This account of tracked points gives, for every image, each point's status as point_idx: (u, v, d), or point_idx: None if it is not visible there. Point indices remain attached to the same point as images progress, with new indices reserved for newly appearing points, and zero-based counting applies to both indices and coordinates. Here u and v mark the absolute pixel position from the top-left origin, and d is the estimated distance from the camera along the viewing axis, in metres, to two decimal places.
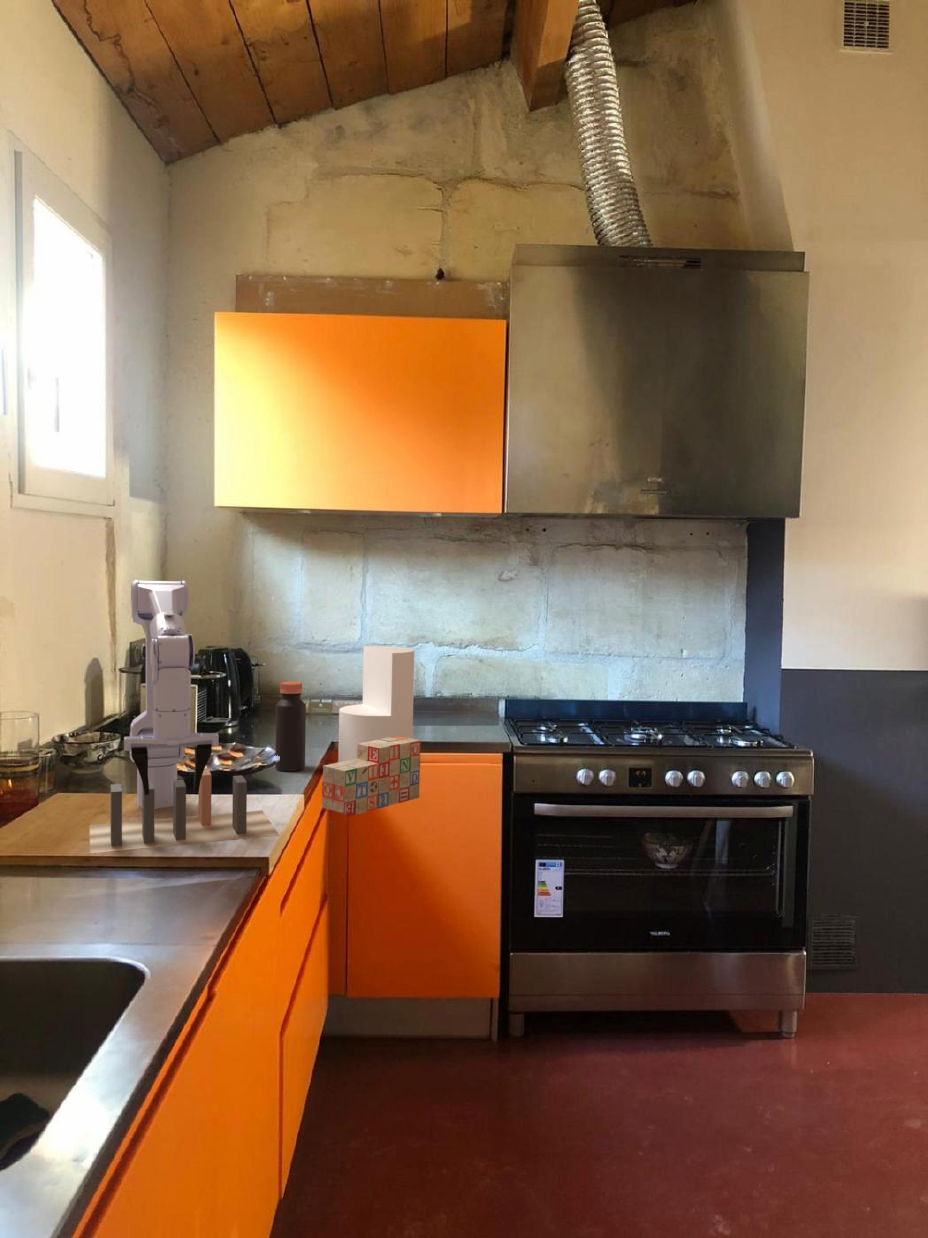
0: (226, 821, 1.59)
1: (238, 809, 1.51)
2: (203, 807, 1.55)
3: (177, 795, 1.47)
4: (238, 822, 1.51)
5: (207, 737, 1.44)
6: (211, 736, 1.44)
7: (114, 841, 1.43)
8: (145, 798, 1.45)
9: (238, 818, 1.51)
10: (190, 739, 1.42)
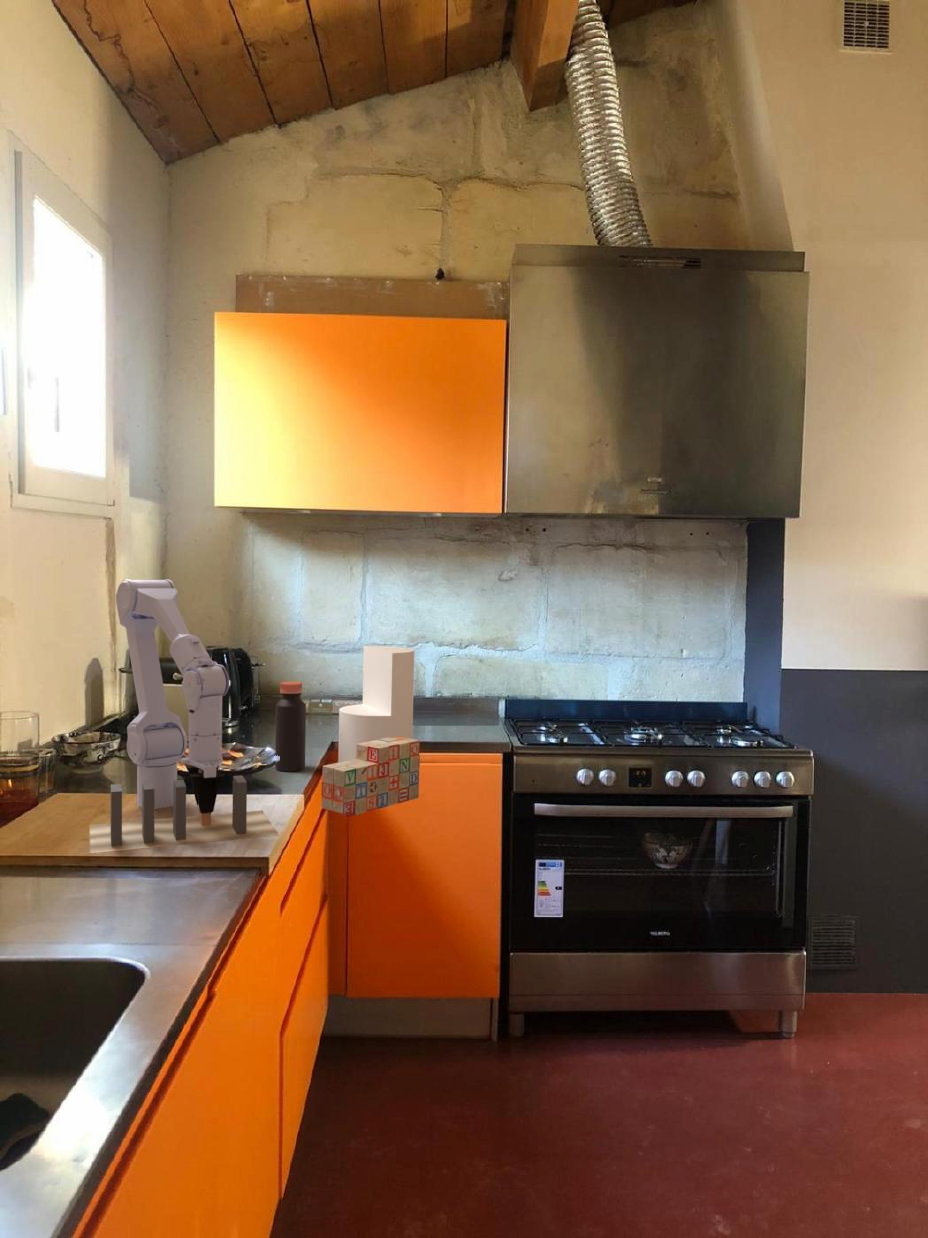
0: (226, 821, 1.59)
1: (238, 809, 1.51)
2: None
3: (177, 795, 1.47)
4: (238, 822, 1.51)
5: (201, 766, 1.52)
6: (203, 766, 1.51)
7: (114, 841, 1.43)
8: (145, 798, 1.45)
9: (238, 818, 1.51)
10: (193, 763, 1.54)
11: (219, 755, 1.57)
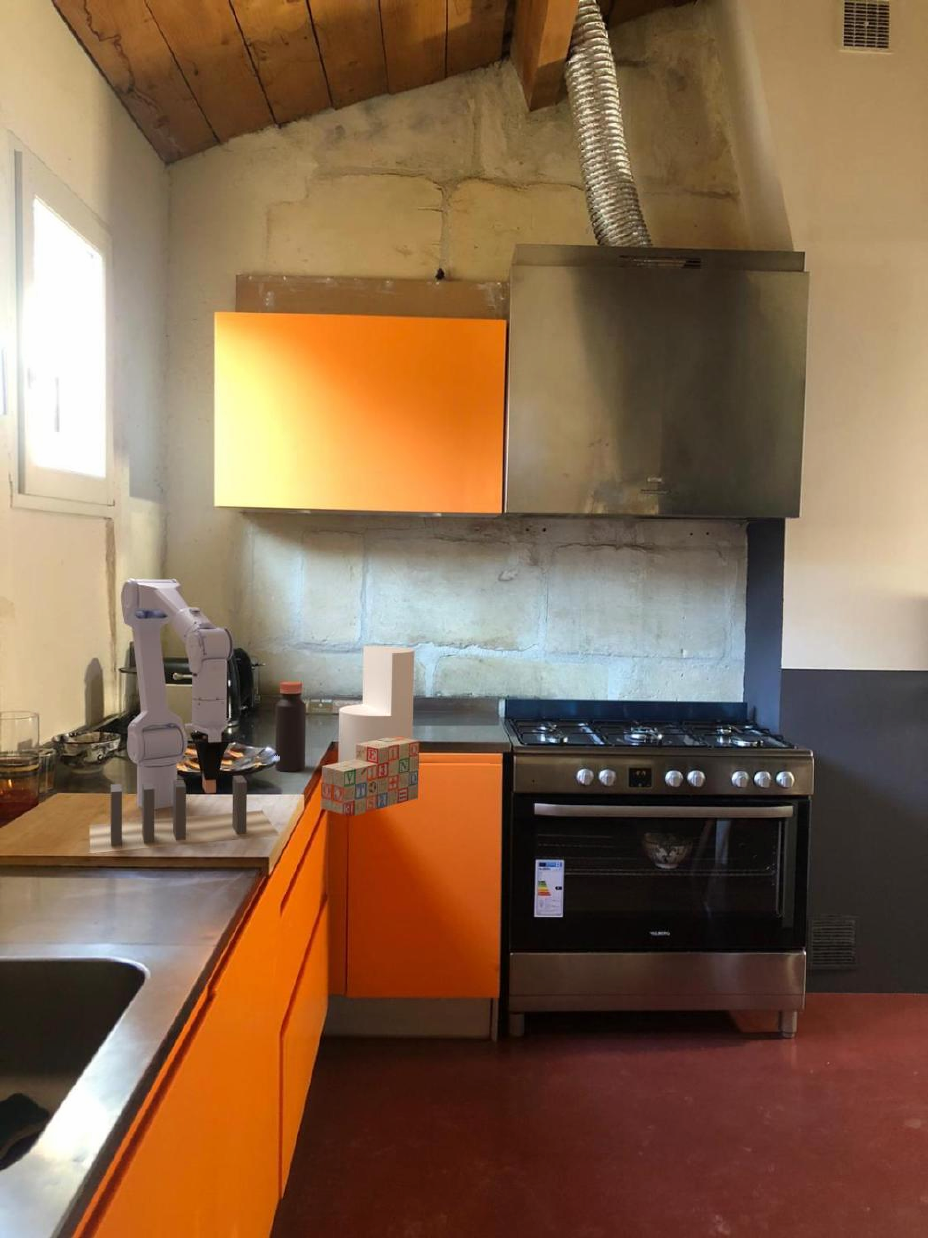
0: (226, 821, 1.59)
1: (238, 809, 1.51)
2: None
3: (177, 795, 1.47)
4: (238, 822, 1.51)
5: (205, 730, 1.47)
6: (207, 730, 1.46)
7: (114, 841, 1.43)
8: (145, 798, 1.45)
9: (238, 818, 1.51)
10: (197, 728, 1.49)
11: (224, 720, 1.52)
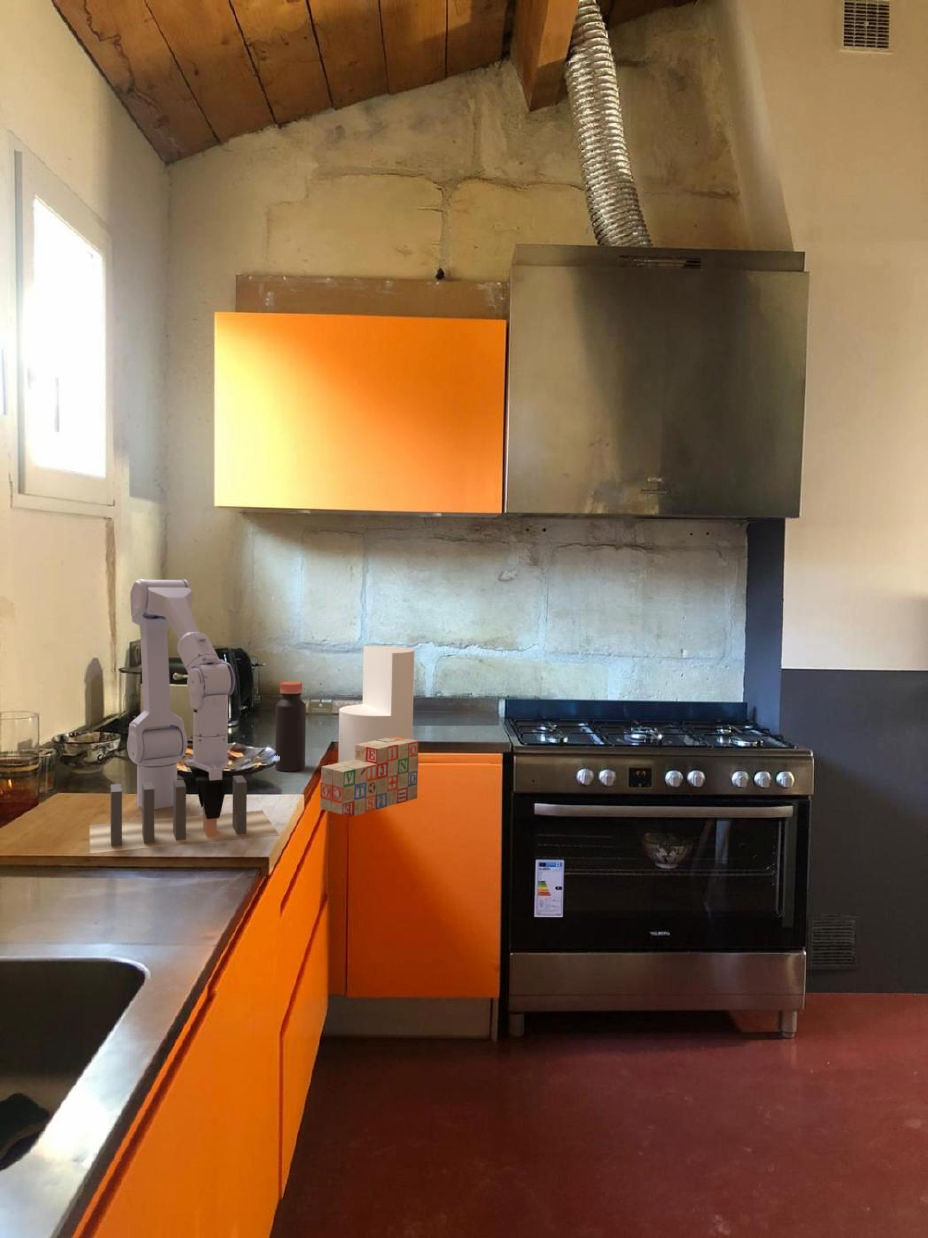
0: (226, 821, 1.59)
1: (238, 809, 1.51)
2: None
3: (177, 795, 1.47)
4: (238, 822, 1.51)
5: (206, 768, 1.45)
6: (208, 768, 1.45)
7: (114, 841, 1.43)
8: (145, 798, 1.45)
9: (238, 818, 1.51)
10: (198, 765, 1.48)
11: (225, 757, 1.50)
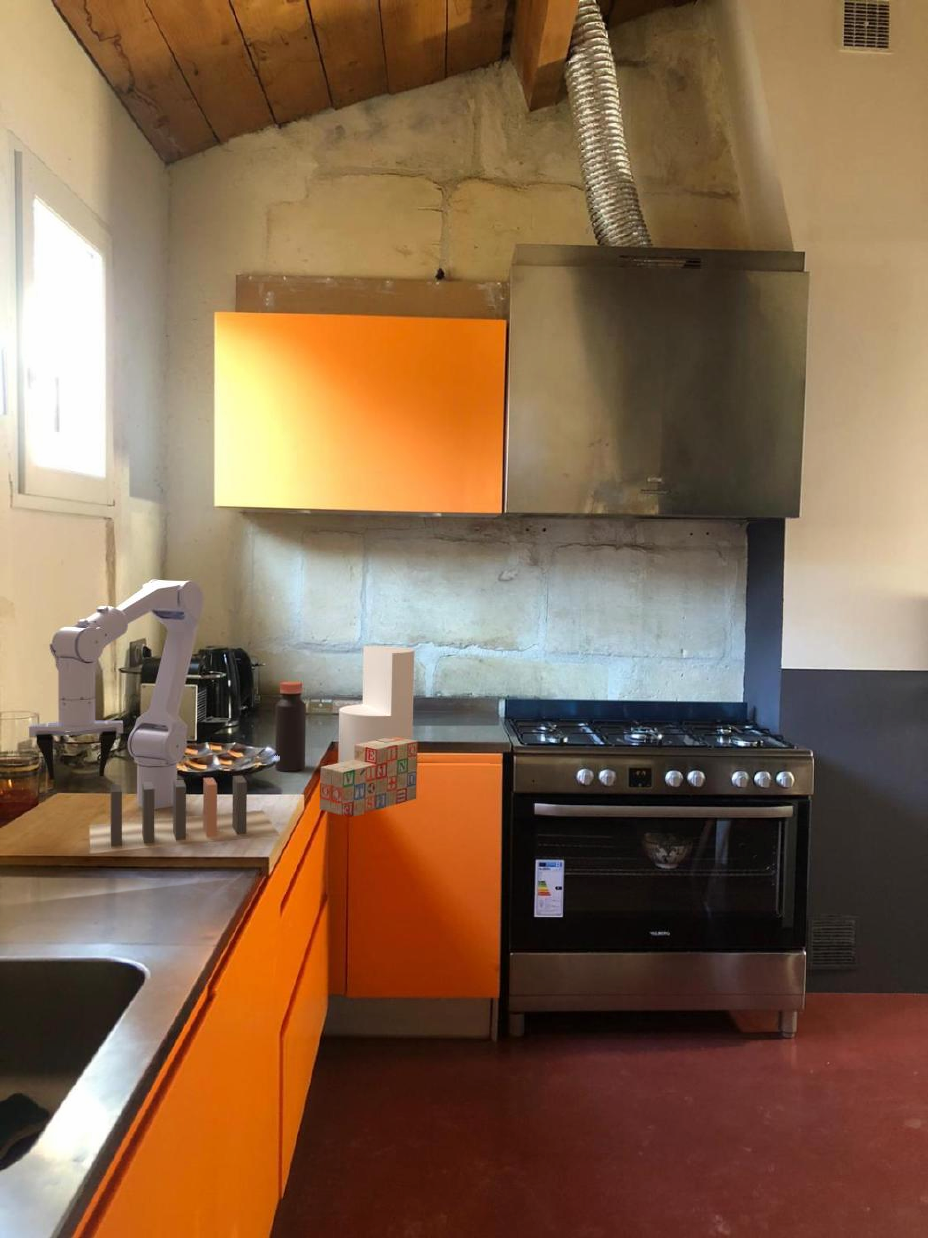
0: (226, 821, 1.59)
1: (238, 809, 1.51)
2: (208, 818, 1.49)
3: (177, 795, 1.47)
4: (238, 822, 1.51)
5: (111, 724, 1.51)
6: (115, 723, 1.51)
7: (114, 841, 1.43)
8: (145, 798, 1.45)
9: (238, 818, 1.51)
10: (94, 726, 1.49)
11: None
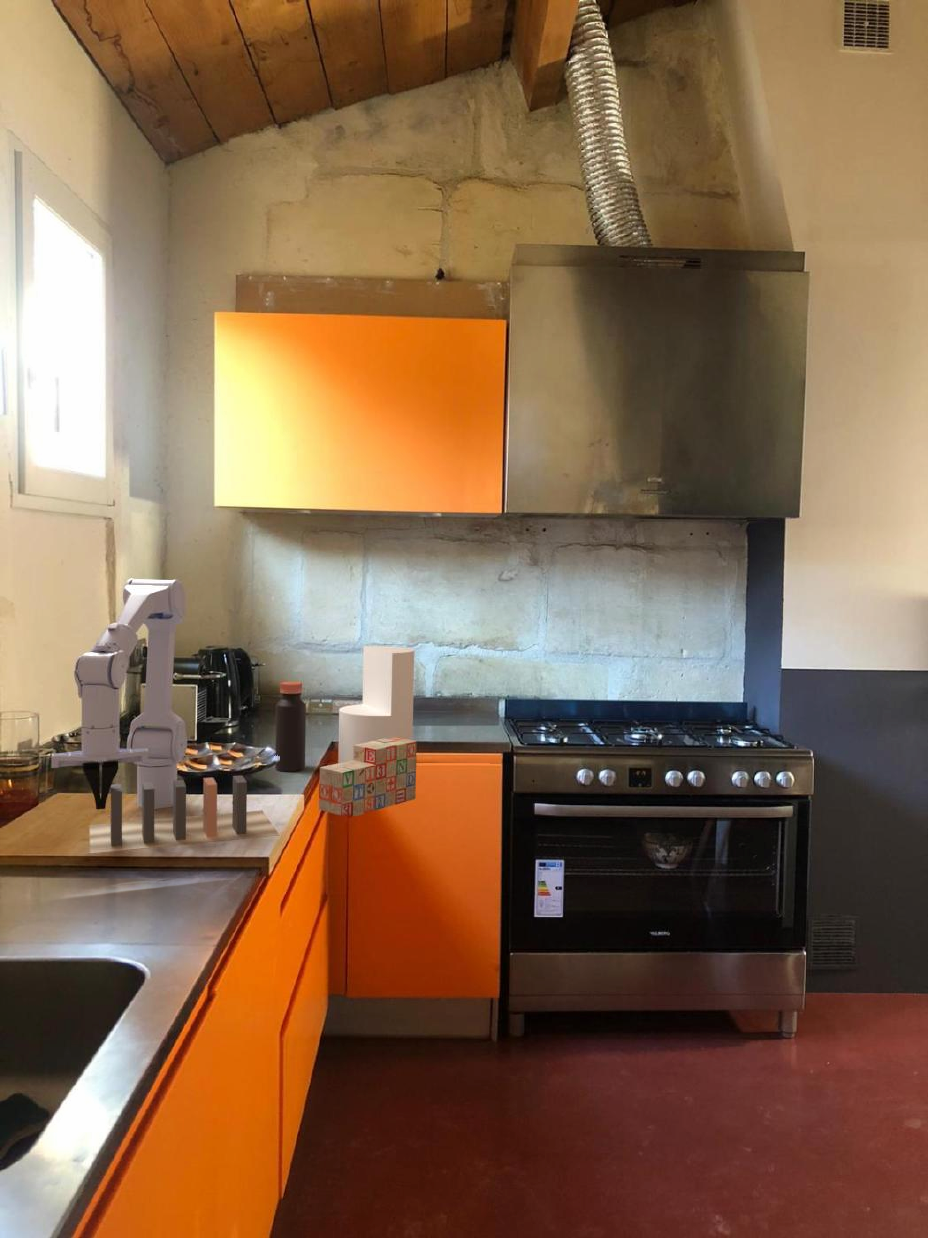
0: (226, 821, 1.59)
1: (238, 809, 1.51)
2: (208, 818, 1.49)
3: (177, 795, 1.47)
4: (238, 822, 1.51)
5: (136, 753, 1.45)
6: (140, 752, 1.45)
7: (114, 841, 1.43)
8: (145, 798, 1.45)
9: (238, 818, 1.51)
10: (119, 755, 1.43)
11: None
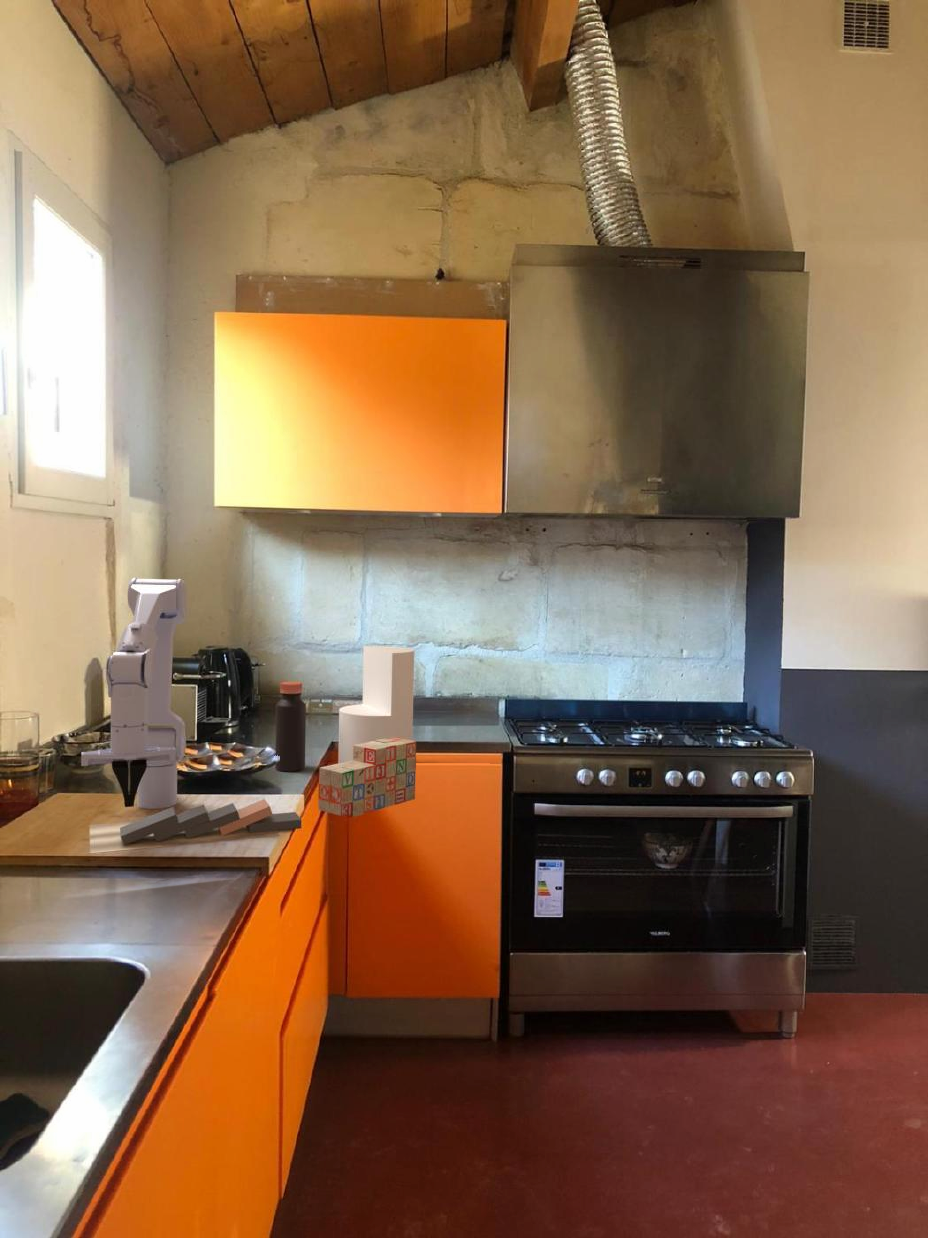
0: None
1: (275, 823, 1.54)
2: (238, 821, 1.51)
3: (229, 814, 1.50)
4: (262, 824, 1.53)
5: (164, 751, 1.47)
6: (168, 750, 1.47)
7: (126, 837, 1.44)
8: (198, 816, 1.48)
9: (266, 824, 1.53)
10: (147, 753, 1.45)
11: None
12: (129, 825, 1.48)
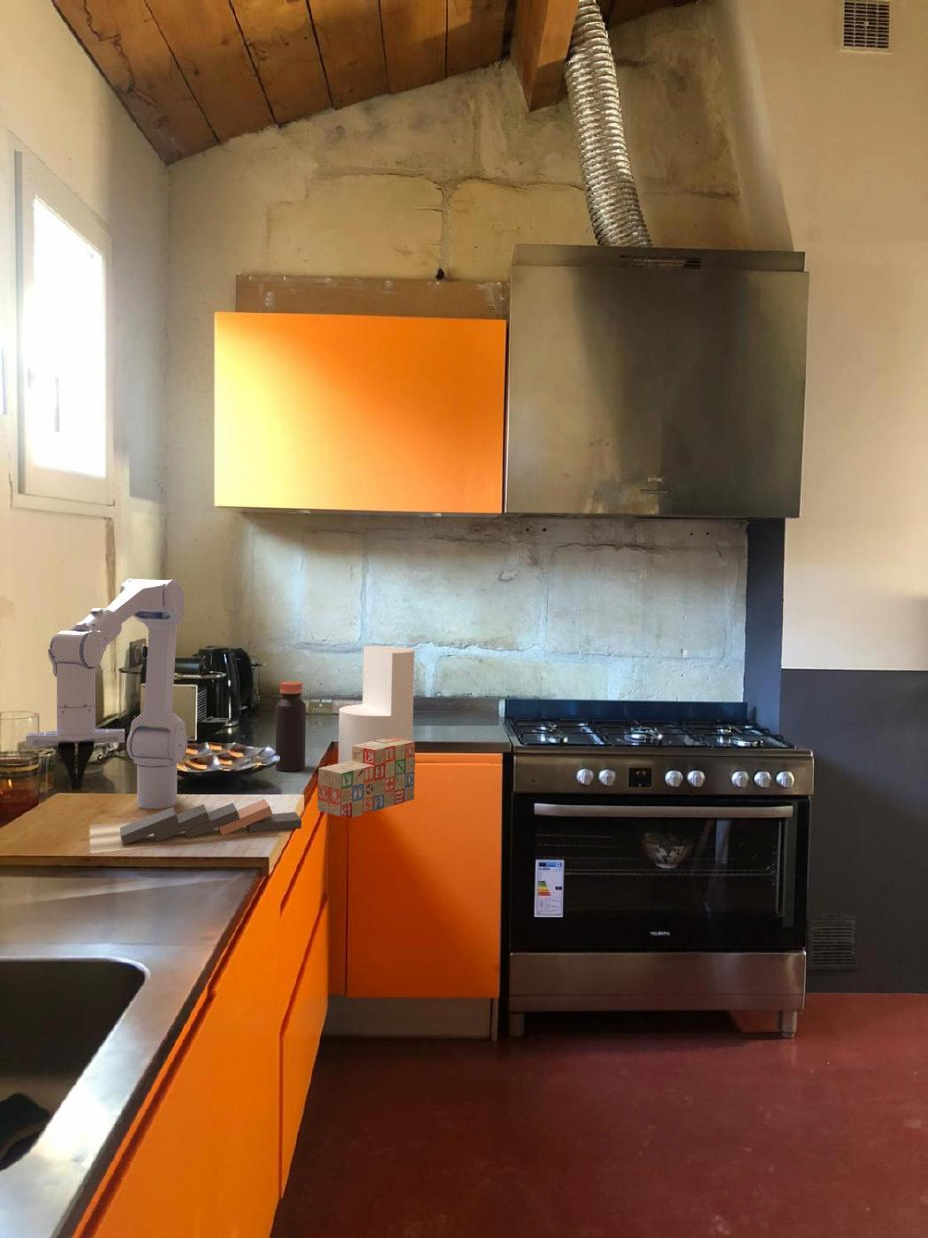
0: None
1: (275, 823, 1.54)
2: (238, 821, 1.51)
3: (229, 814, 1.50)
4: (262, 824, 1.53)
5: (112, 733, 1.43)
6: (117, 732, 1.44)
7: (126, 837, 1.44)
8: (198, 816, 1.48)
9: (266, 824, 1.53)
10: (94, 735, 1.41)
11: None
12: (129, 825, 1.48)
